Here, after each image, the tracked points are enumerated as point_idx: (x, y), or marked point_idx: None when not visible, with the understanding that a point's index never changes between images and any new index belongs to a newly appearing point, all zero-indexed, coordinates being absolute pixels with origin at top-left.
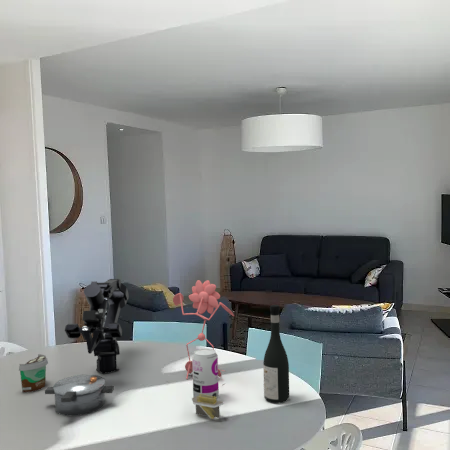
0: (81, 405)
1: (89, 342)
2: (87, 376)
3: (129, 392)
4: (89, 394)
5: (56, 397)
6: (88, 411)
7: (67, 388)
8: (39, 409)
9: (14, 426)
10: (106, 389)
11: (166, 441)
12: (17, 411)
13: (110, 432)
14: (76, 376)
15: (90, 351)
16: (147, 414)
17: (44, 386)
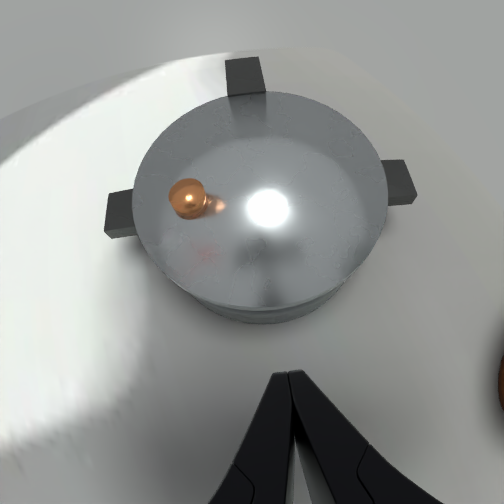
0: None
1: (320, 455)
2: (255, 271)
3: (105, 372)
4: None
5: None
6: None
7: (284, 118)
8: None
9: (379, 100)
10: (129, 189)
11: (35, 110)
12: (446, 175)
13: (123, 103)
14: (327, 266)
15: (272, 376)
16: (44, 196)
17: (499, 393)
